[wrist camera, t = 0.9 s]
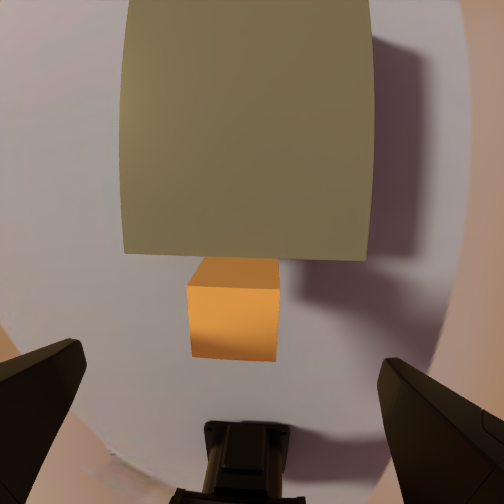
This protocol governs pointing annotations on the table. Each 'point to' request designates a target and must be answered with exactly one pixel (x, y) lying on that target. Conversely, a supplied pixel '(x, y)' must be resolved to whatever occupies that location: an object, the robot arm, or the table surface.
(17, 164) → the table surface
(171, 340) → the table surface
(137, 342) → the table surface
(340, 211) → the lid
